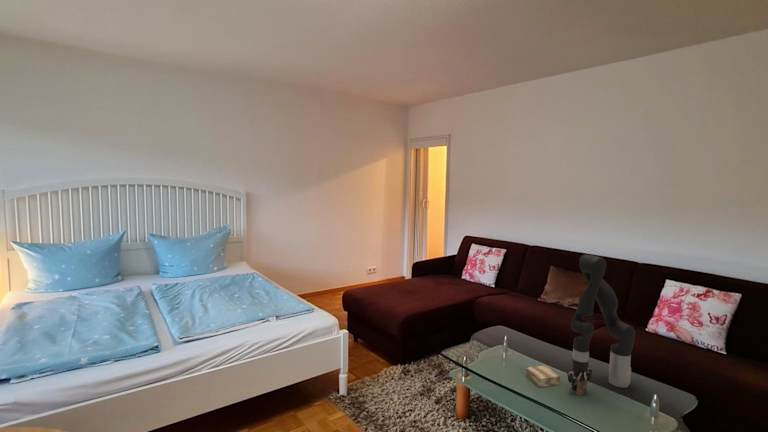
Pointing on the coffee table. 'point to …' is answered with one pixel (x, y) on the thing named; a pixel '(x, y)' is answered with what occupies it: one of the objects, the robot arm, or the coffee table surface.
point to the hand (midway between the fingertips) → (578, 389)
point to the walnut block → (581, 386)
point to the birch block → (542, 376)
